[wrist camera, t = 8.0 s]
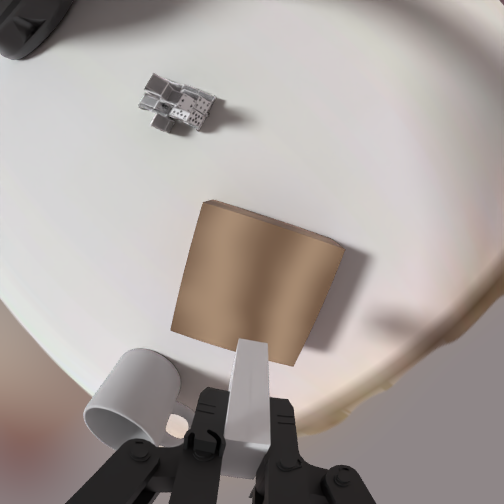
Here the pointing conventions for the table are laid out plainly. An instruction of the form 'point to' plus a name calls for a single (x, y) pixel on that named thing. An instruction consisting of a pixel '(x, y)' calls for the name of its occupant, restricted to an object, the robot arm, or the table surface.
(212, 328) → the brown boxy piece
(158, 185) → the table surface
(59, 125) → the table surface
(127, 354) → the mug
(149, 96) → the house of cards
